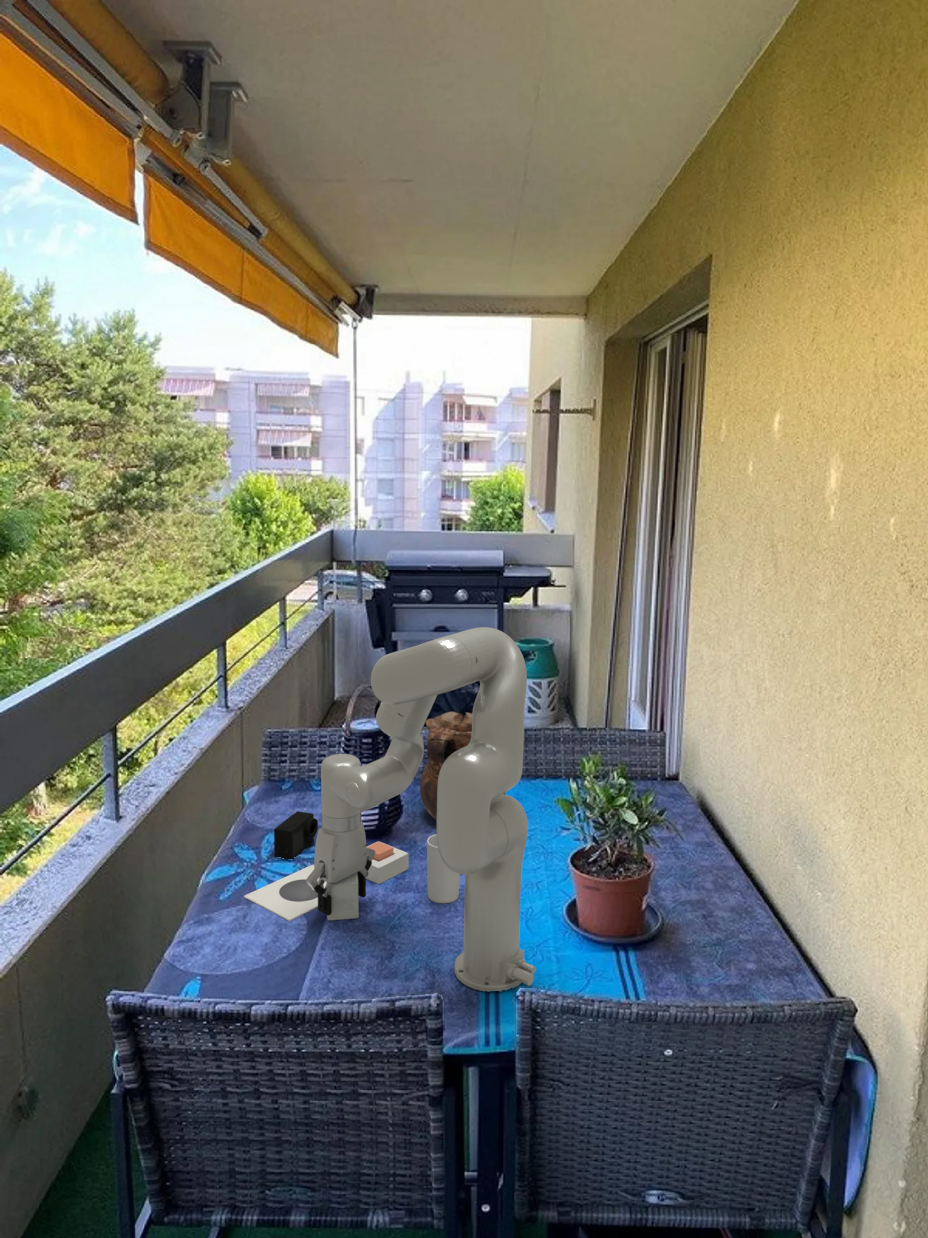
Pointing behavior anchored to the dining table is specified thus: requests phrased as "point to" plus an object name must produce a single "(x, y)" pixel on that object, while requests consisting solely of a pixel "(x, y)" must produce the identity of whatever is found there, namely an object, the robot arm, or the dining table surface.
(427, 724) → the jug
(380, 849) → the button
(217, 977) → the dining table surface
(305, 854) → the dining table surface
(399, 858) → the button housing
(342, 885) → the skincare box
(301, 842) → the digital camera
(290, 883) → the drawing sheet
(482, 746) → the robot arm
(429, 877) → the mug
